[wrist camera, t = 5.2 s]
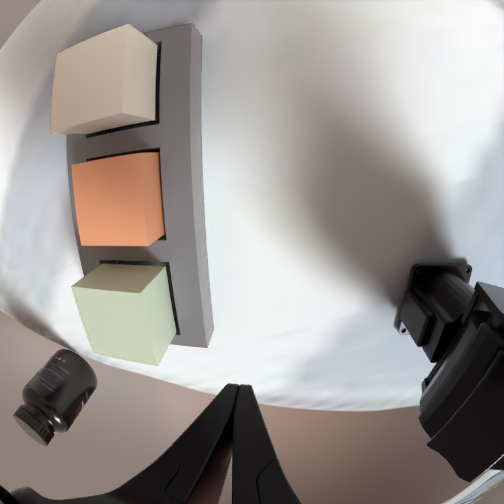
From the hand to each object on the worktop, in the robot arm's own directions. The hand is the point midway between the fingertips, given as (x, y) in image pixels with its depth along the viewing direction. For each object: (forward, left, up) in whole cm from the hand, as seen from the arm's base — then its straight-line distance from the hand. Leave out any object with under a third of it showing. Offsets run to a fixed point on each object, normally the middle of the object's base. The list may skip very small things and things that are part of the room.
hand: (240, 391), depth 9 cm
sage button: (+9, +2, -9) cm, 13 cm away
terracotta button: (+9, -6, -11) cm, 16 cm away
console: (+9, -5, -12) cm, 16 cm away
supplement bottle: (+23, +15, -12) cm, 30 cm away
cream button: (+9, -13, -10) cm, 18 cm away
